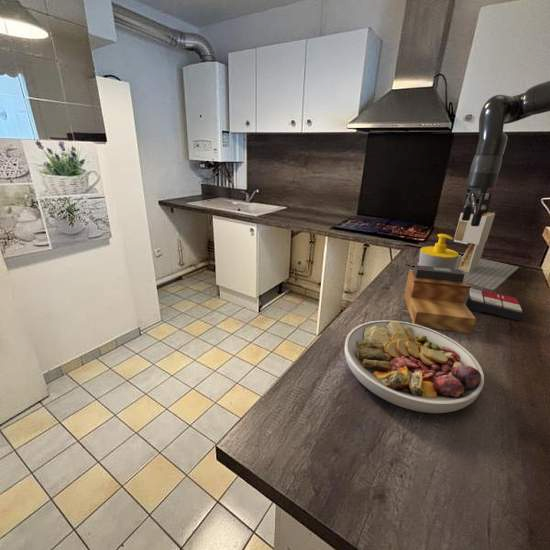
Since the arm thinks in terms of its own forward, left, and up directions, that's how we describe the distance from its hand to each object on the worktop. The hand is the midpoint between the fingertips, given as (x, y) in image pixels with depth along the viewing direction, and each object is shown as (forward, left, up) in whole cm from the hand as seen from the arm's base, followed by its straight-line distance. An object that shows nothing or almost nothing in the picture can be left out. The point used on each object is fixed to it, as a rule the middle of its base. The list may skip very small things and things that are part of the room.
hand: (469, 223), depth 96 cm
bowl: (+22, +45, -28) cm, 57 cm away
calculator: (-12, +4, -28) cm, 31 cm away
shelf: (+8, +13, -28) cm, 32 cm away
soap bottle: (+4, -10, -28) cm, 30 cm away
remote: (+8, +8, -17) cm, 21 cm away
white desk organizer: (-16, -39, -28) cm, 51 cm away
